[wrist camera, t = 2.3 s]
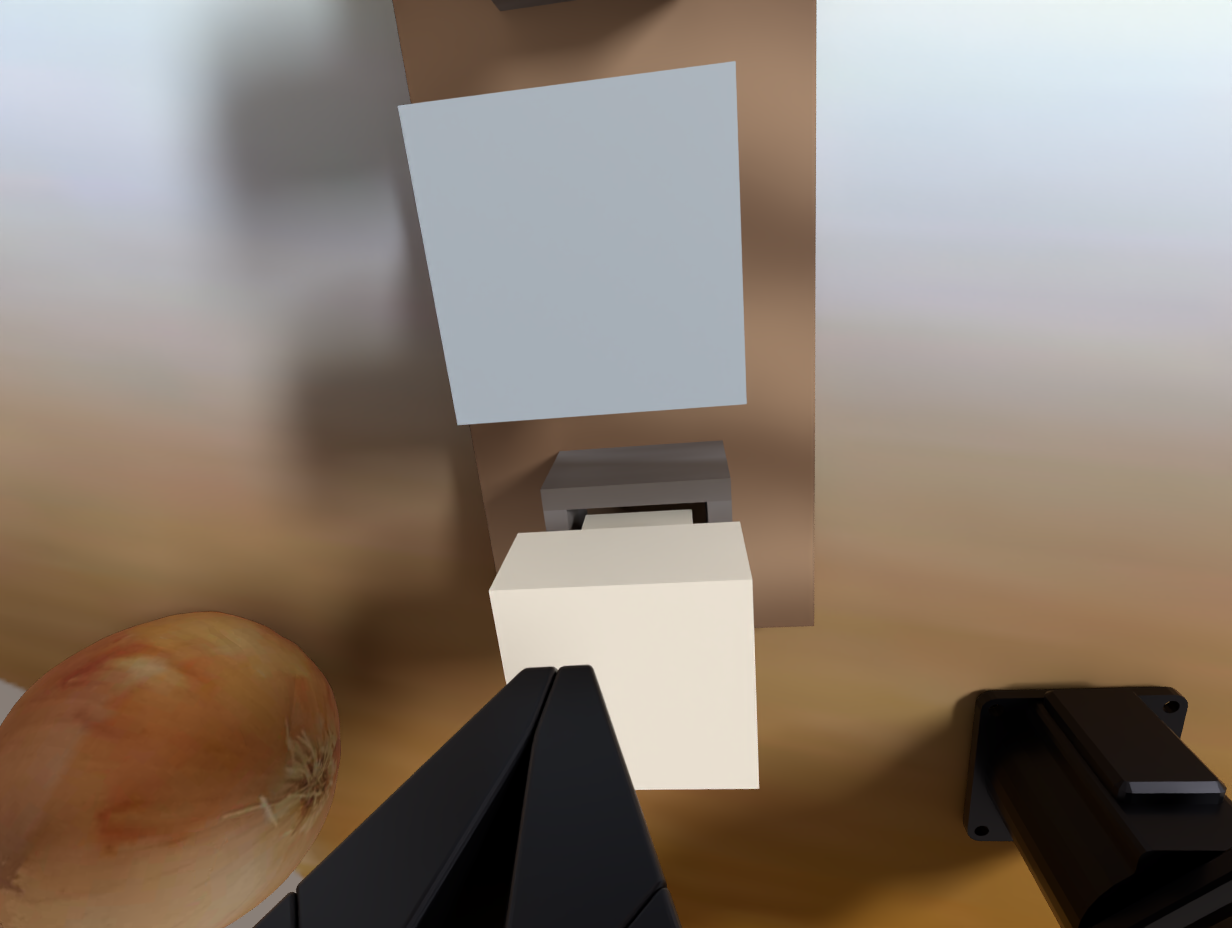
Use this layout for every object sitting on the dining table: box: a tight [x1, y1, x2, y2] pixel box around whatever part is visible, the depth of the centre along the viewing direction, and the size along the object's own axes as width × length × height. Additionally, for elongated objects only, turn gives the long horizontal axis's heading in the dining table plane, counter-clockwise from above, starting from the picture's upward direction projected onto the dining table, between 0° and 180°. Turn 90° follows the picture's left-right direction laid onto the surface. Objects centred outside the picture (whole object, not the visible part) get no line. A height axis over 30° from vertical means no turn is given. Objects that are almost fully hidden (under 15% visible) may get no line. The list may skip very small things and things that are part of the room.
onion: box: [0, 611, 341, 928], centre depth 21 cm, size 10×10×10 cm
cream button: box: [489, 509, 759, 790], centre depth 15 cm, size 5×5×5 cm
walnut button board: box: [392, 0, 816, 628], centre depth 17 cm, size 24×10×4 cm, turn 6°
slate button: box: [398, 61, 747, 425], centre depth 12 cm, size 5×5×5 cm
